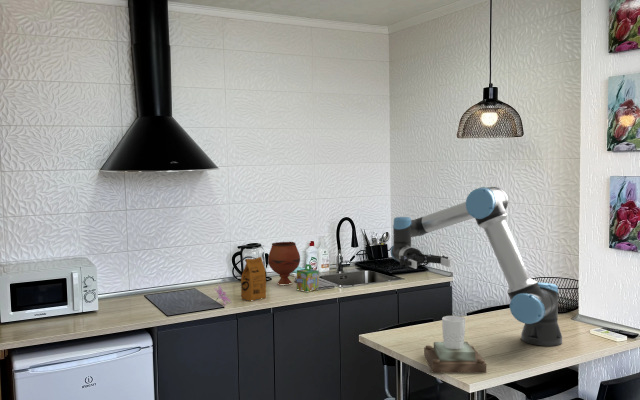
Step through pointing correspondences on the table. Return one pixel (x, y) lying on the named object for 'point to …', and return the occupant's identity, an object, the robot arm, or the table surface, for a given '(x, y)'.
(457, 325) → the white cup
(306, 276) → the colorful lantern
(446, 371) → the plinth
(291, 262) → the goblet
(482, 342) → the table surface
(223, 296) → the lily
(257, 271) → the coffee package
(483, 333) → the table surface
